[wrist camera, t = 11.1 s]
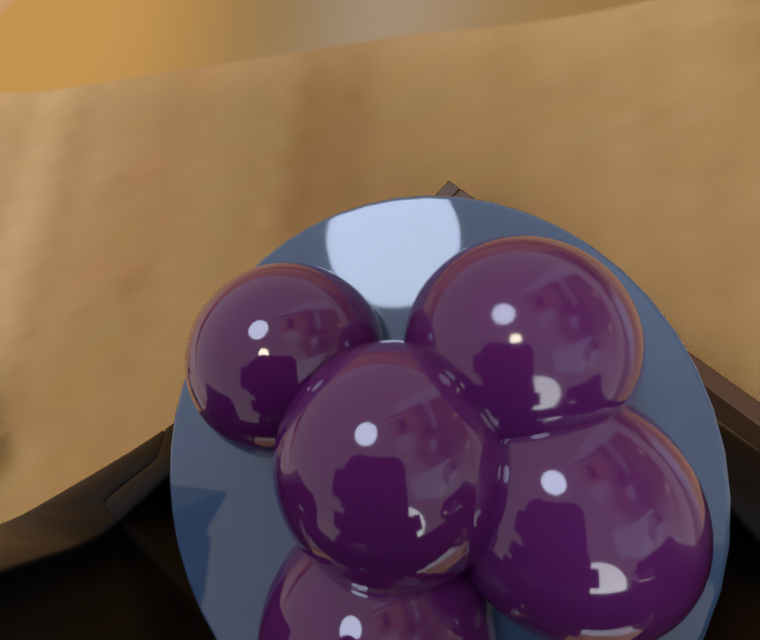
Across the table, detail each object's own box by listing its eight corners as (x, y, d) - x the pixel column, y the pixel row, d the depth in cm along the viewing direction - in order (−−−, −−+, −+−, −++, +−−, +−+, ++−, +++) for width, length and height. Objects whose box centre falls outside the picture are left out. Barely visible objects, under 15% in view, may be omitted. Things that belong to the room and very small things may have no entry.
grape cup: (583, 448, 14) (1422, 828, 2) (427, 538, 14) (156, 1307, 2) (477, 301, 16) (482, -42, 4) (344, 386, 16) (-41, 344, 4)
